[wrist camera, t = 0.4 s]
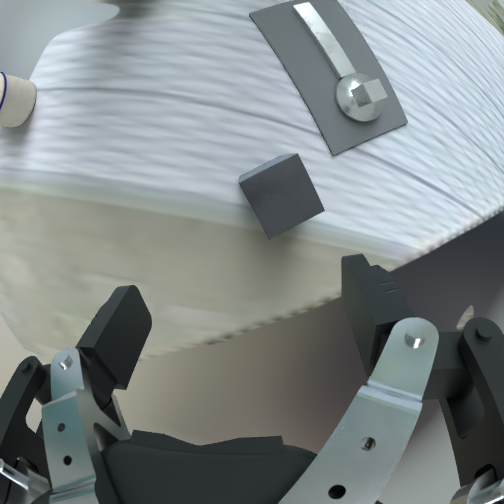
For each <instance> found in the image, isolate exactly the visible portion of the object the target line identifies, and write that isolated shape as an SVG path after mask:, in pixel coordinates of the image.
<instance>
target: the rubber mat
mask: <svg viewBox="0 0 504 504" xmlns="http://www.w3.org/2000/svg"><path fill="white" fill-rule="evenodd" d="M307 2H309V3H310V4H311V5H312V7H313V8H314V9H315V10H316V12H317V13H318V14H319V16H320V17H321V18H322V20H323V21H324V23H325V24H326V25H327V27H328V28H329V30H330V31H331V33H332V34H333V36H334V37H335V39H336V40H337V42H338V43H339V45H340V46H341V48H342V49H343V51H344V52H345V54H346V56H347V57H348V59H349V61H350V62H351V64H352V66H353V67H354V69H355V71H356V73H361V74H364V75H367V76H368V77H370V78H372V79H373V80H375V79H378V78H379V80H380V82H381V84H382V86H383V88H384V90H385V92H386V94H387V96H388V97H387V98H384V108H383V111H382V113H381V114H380V115H379V116H378V117H377V118H376V119H373V120H370V121H366V122H356V121H353V120H351V119H349V118H347V117H346V116H345V115H344V114H343V113H342V112H341V111H340V110H339V108H338V107H337V105H336V102H335V98H334V90H335V87H336V84H337V83H338V82H339V81H340V80H341V79H342V78H341V79H338V78H337V76H336V75H335V73H334V71H333V70H332V68H331V66H330V65H329V63H328V61H327V60H326V58H325V56H324V55H323V53H322V52H321V50H320V49H319V47H318V45H317V44H316V42H315V41H314V39H313V38H312V37H311V35H310V34H309V32H308V31H307V29H306V28H305V27H304V25H303V24H302V22H301V21H300V20H299V18H298V17H297V16H296V14H295V13H294V12H293V10H292V8H293V6H294V5H298V4H303V3H307ZM249 16H250V17H251V19H252V20H253V21H254V23H255V24H256V25H257V27H258V28H259V30H260V31H261V32H262V34H263V35H264V37H265V38H266V40H267V41H268V42H269V44H270V45H271V47H272V48H273V50H274V51H275V53H276V55H277V56H278V58H279V59H280V61H281V62H282V64H283V66H284V67H285V69H286V70H287V72H288V74H289V75H290V77H291V79H292V80H293V82H294V84H295V85H296V87H297V89H298V90H299V92H300V94H301V96H302V97H303V99H304V101H305V103H306V105H307V106H308V108H309V110H310V112H311V114H312V116H313V118H314V120H315V121H316V123H317V125H318V127H319V129H320V131H321V133H322V135H323V137H324V139H325V141H326V143H327V145H328V147H329V149H330V151H331V154H332V155H335V154H337V153H340V152H342V151H344V150H346V149H348V148H351V147H353V146H355V145H357V144H359V143H362V142H364V141H366V140H368V139H371V138H373V137H375V136H378V135H380V134H382V133H385V132H387V131H389V130H392V129H394V128H396V127H399V126H401V125H404V124H406V123H408V121H407V119H406V116H405V114H404V112H403V109H402V107H401V105H400V103H399V101H398V99H397V96H396V94H395V92H394V90H393V88H392V86H391V84H390V82H389V80H388V78H387V77H386V75H385V73H384V71H383V69H382V67H381V66H380V64H379V62H378V60H377V59H376V57H375V55H374V54H373V52H372V50H371V49H370V47H369V45H368V44H367V42H366V41H365V39H364V37H363V36H362V34H361V33H360V31H359V30H358V28H357V27H356V26H355V24H354V23H353V21H352V20H351V18H350V17H349V16H348V14H347V13H346V12H345V10H344V9H343V8H342V6H341V5H340V4H339V2H338V1H337V0H294V1H290V2H286V3H282V4H279V5H275V6H272V7H268V8H265V9H262V10H259V11H256V12H253V13H250V14H249Z"/></svg>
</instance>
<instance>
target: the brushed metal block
mask: <svg viewBox="0 0 504 504" xmlns="http://www.w3.org/2000/svg"><path fill="white" fill-rule="evenodd" d="M239 184H240V186H241V188H242V190H243V192H244V193H245V195H246V197H247V199H248V201H249V203H250V204H251V206H252V208H253V210H254V212H255V214H256V216H257V217H258V219H259V221H260V223H261V225H262V227H263V229H264V231H265V232H266V234H267V236H268V238H269V239H271V238H273V237H275V236H277V235H279V234H281V233H283V232H285V231H286V230H288V229H290V228H292V227H294V226H296V225H298V224H300V223H302V222H304V221H306V220H308V219H310V218H312V217H314V216H316V215H317V214H319V213H321V212H323V211H325V210H324V207H323V205H322V203H321V201H320V199H319V196H318V194H317V192H316V190H315V188H314V186H313V184H312V182H311V179H310V177H309V175H308V173H307V171H306V169H305V167H304V165H303V163H302V161H301V159H300V157H299V155H298V153H297V154H290V155H284V156H279V157H277V158H275V159H273V160H271V161H269V162H267V163H265V164H263V165H261V166H259V167H257V168H255V169H253V170H251V171H249V172H247V173H245V174H244V175H242V176H240V177H239Z"/></svg>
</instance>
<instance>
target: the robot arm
mask: <svg viewBox="0 0 504 504" xmlns="http://www.w3.org/2000/svg"><path fill="white" fill-rule="evenodd" d="M341 267H342V300H343V305H344V309H345V311H346V315H347V317H348V320H349V323H350V326H351V329H352V332H353V335H354V338H355V341H356V344H357V347H358V351H359V354H360V357H361V360H362V363H363V367H364V370H365V373H366V376H371V377H370V378H369V380H368V382H367V383H366V384H363V385H362V387H361V388H360V390H359V391H358V393H357V395H356V396H355V398H354V400H353V402H352V403H351V405H350V407H349V408H348V410H347V412H346V413H345V415H344V417H343V418H342V420H341V421H340V423H339V424H338V426H337V427H336V429H335V431H334V432H333V434H332V435H331V437H330V438H329V440H328V441H327V443H326V444H325V445H324V447H323V448H322V450H321V451H320V452H319V454H316V453H313V452H312V451H309V450H306V449H303V448H299V447H295V446H290V445H284V443H283V440H282V437H281V436H271V437H250V438H237V439H232V440H228V441H223V442H219V443H213V444H208V445H201V446H198V445H194V444H190V443H187V442H185V441H182V440H179V439H176V438H173V437H171V436H168V435H165V434H160V433H152V432H145V431H139V430H133V432H132V436H131V435H130V433H129V431H128V429H127V426H126V424H125V421H124V418H123V416H122V413H121V410H120V407H119V404H118V401H117V398H116V396H115V395H114V394H113V390H114V389H122V390H126V389H127V386H128V384H129V381H130V378H131V376H132V373H133V371H134V368H135V366H136V363H137V361H138V358H139V356H140V354H141V351H142V349H143V346H144V344H145V342H146V339H147V337H148V335H149V332H150V330H151V327H152V319H151V315H150V313H149V311H148V309H147V307H146V304H145V302H144V300H143V298H142V296H141V294H140V292H139V290H138V288H137V287H136V286H135V285H129V286H121V287H117V288H116V289H115V291H114V292H113V294H112V295H111V297H110V298H109V300H108V301H107V302H106V303H105V304H104V305H103V306H102V307H101V308H100V309H99V311H98V312H97V314H96V315H95V317H94V318H93V320H92V321H91V324H90V325H89V326H88V328H87V329H86V331H85V332H84V334H83V336H82V337H81V339H80V341H79V342H78V344H77V346H76V347H75V348H74V347H68V348H65V349H63V350H61V351H60V352H59V353H58V354H57V355H56V356H55V357H54V358H53V360H52V362H51V364H47V365H42V364H41V363H40V361H39V360H38V359H37V358H36V357H35V356H30V357H27V358H26V359H24V360H23V361H22V362H21V363H20V364H19V366H18V367H17V369H16V371H15V373H14V374H13V376H12V378H11V380H10V381H9V383H8V385H7V387H6V389H5V391H4V393H3V395H2V397H1V399H0V504H382V503H381V502H379V501H378V500H377V499H378V497H379V496H380V494H381V493H382V491H383V489H384V487H385V486H386V484H387V482H388V481H389V479H390V477H391V475H392V473H393V471H394V469H395V468H396V466H397V464H398V462H399V460H400V458H401V456H402V454H403V452H404V449H405V447H406V445H407V443H408V441H409V438H410V436H411V434H412V431H413V429H414V427H415V424H416V422H417V419H418V416H419V414H420V411H421V408H422V404H423V402H422V399H439V402H440V406H441V409H442V412H443V415H444V418H445V422H446V425H447V429H448V432H449V436H450V440H451V444H452V448H453V451H454V456H455V460H456V465H457V469H458V474H459V480H460V486H461V488H460V489H459V490H458V491H457V492H456V493H455V494H454V496H453V497H452V499H451V501H450V504H504V335H503V333H502V331H501V330H500V328H499V327H498V326H497V325H496V324H495V323H494V322H493V321H491V320H489V319H487V318H482V317H478V318H473V319H471V320H469V321H468V322H467V323H466V324H465V327H464V329H463V331H462V332H438V331H437V330H436V328H435V327H434V325H432V324H431V323H430V322H428V321H426V320H424V319H421V318H417V317H416V315H415V314H414V312H413V311H412V309H411V307H410V305H409V304H408V302H407V300H406V299H405V297H404V296H403V294H402V292H401V291H400V290H399V288H398V286H397V285H396V283H394V280H393V278H392V277H391V275H390V274H389V272H388V271H386V270H385V269H383V268H382V267H380V266H379V265H374V266H370V265H369V263H368V261H367V260H366V258H365V257H364V255H363V254H356V255H350V256H343V257H342V261H341ZM34 398H35V399H36V400H38V402H39V403H40V404H41V405H42V419H41V422H40V424H39V426H38V429H37V432H36V433H35V432H33V431H32V430H31V429H30V428H28V426H27V424H26V415H27V412H28V410H29V408H30V406H31V404H32V401H33V399H34ZM17 458H19V460H18V459H17ZM52 486H53V487H52Z"/></svg>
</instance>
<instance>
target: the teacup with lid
mask: <svg viewBox="0 0 504 504" xmlns="http://www.w3.org/2000/svg"><path fill="white" fill-rule="evenodd" d="M35 99H36V89H35V85H34V84H33V82H31V81H29V80H25V79H22V78H17V77H13V76H9V75H5V74H4V73H3V72H0V127H18V126H20V125H21V124H23V123H24V122H25V121H26V119H27V118H28V117H29V115H30V113H31V111H32V109H33V106H34V103H35Z"/></svg>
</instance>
